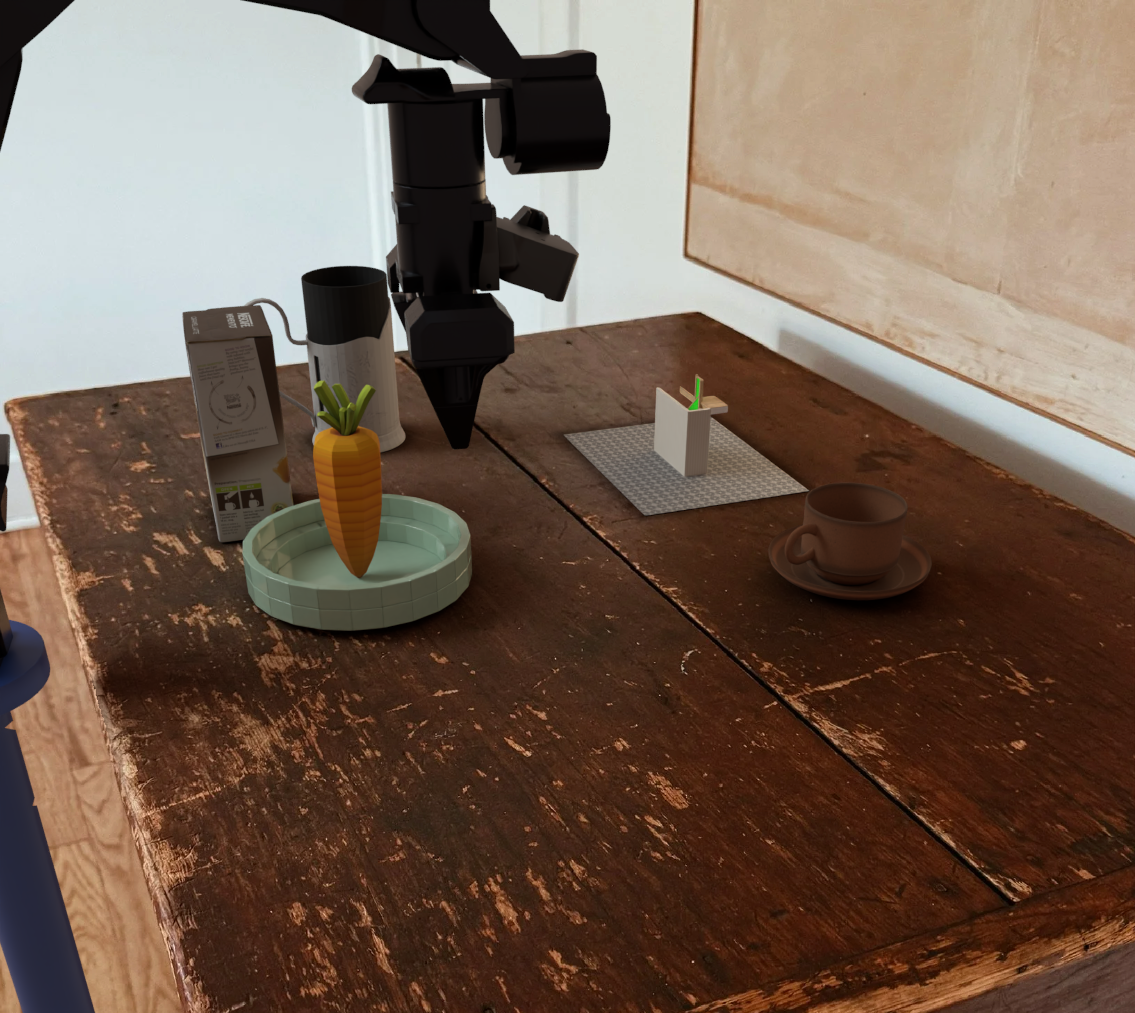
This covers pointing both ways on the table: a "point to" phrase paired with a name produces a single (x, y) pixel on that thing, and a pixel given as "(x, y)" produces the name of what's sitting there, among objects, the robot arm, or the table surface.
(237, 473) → the coffee box
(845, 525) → the cup and saucer
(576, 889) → the table surface
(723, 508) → the table surface
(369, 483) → the carrot
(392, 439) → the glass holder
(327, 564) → the bowl
